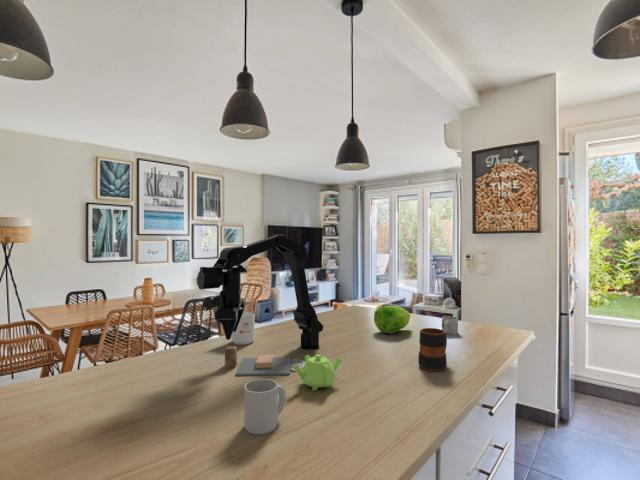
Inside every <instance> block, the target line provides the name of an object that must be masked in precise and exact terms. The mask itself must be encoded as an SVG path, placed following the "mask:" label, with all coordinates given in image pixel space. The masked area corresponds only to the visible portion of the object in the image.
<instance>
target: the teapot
mask: <svg viewBox="0 0 640 480" xmlns="http://www.w3.org/2000/svg"><path fill="white" fill-rule="evenodd" d="M304 360H305V362H304V365H303V367H302V368H301V366H300V365H299V364H295V365H294V366H293V370H294V371H295V373H297V374H298V376H299V377H300V378H301V381H302V382H303V383H304V384H305V385H306V386H308V387H310V388H311V390H312V391H314V392H317V391H318V390H319V388H326V389H330V388H331V387H332V384H333V382H335V380H336V371H337V369H338V367H339V366H340V364H341V363H342V359H340V358H339V357H337V358H336V359H335V361H334V362H333V364H332V362H331V361H330V360H329V358H327V357H325V356H323V355H322V354H318V353H317V354H315V355H314V356H312V357H311V356H310V354H306V355H304Z"/></svg>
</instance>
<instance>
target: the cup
mask: <svg viewBox="0 0 640 480" xmlns="http://www.w3.org/2000/svg"><path fill="white" fill-rule="evenodd" d="M243 388H244V389H243V395H244V396H243V405H244V406H243V408H244V409H243V425H244V430H245V431H246V432H248V433H249V434H252V435H256V436H257V435H259V436H261V435H262V436H263V435H267V434H269V433H272V432H273V431H274V430H275V429H276V428H277V427H278V423H279V422H278V420H279V419H278V418H279V416H278V415H280V414H281V413H282V412H283V411H284V408H285V407H286V403H287V401H286V400H287V394H286V391H285V388H284V386H282V385H281V384H279V383H278V382H277V381H275V380H273V379H268V378H258V379H253V380H250V381H248V382H246V383H245V384H244V386H243Z"/></svg>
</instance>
